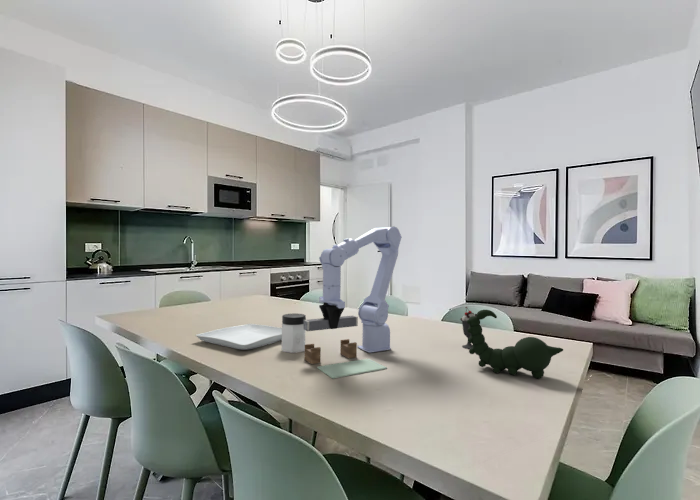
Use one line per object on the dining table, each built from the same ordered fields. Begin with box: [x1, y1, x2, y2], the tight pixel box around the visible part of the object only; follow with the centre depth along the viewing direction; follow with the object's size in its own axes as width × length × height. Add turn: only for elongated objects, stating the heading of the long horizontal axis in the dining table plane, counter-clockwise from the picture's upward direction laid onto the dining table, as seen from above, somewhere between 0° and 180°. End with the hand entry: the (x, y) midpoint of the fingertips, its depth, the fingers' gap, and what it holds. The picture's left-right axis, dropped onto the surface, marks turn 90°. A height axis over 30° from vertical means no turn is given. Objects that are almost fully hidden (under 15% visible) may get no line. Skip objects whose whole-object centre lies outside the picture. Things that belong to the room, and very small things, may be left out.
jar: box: [281, 313, 307, 354], centre depth 128 cm, size 9×8×12 cm
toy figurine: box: [467, 309, 564, 380], centre depth 106 cm, size 9×19×25 cm
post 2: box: [339, 338, 358, 359], centre depth 122 cm, size 3×6×5 cm, turn 30°
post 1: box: [303, 343, 322, 365], centre depth 115 cm, size 3×6×5 cm, turn 30°
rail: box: [304, 315, 359, 332], centre depth 118 cm, size 18×3×3 cm, turn 120°
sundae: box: [459, 306, 477, 350], centre depth 134 cm, size 7×7×15 cm
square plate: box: [194, 323, 282, 351], centre depth 140 cm, size 27×27×4 cm
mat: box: [316, 358, 388, 379], centre depth 109 cm, size 18×10×1 cm, turn 120°
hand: (331, 327), depth 118 cm, fingers closed on rail, 3 cm apart
